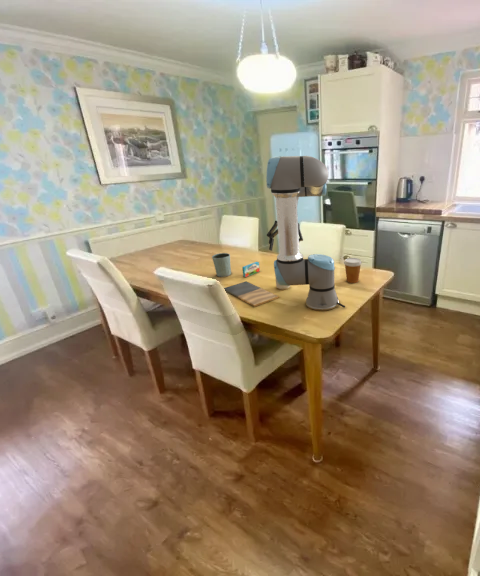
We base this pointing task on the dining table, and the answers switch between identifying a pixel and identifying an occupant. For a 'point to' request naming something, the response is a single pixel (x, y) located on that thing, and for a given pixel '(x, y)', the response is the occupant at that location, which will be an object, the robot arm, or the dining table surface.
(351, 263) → the disposable coffee cup
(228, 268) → the grey cylindrical pot
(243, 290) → the board
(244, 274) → the colorful food box
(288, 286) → the can
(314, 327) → the dining table surface
